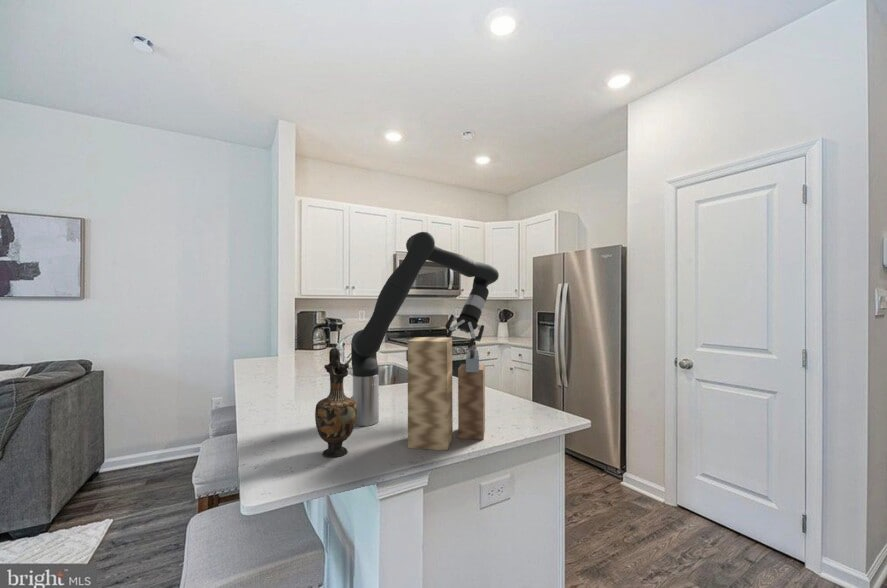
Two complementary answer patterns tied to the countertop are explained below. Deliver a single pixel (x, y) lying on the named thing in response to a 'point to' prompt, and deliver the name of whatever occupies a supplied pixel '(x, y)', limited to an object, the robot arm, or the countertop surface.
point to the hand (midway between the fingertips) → (458, 344)
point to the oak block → (430, 393)
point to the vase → (335, 409)
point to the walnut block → (471, 403)
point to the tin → (472, 361)
